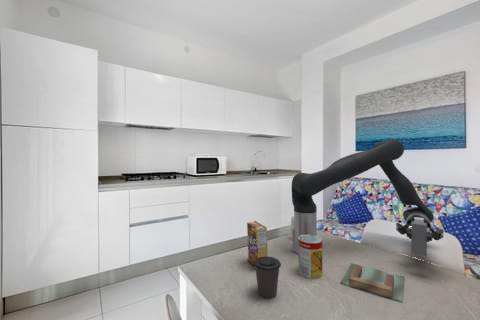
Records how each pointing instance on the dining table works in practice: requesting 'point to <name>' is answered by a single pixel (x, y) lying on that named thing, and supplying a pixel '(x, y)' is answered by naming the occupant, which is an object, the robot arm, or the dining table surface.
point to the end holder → (374, 281)
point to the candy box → (256, 241)
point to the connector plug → (419, 237)
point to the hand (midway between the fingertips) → (419, 237)
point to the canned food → (310, 256)
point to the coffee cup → (267, 276)
